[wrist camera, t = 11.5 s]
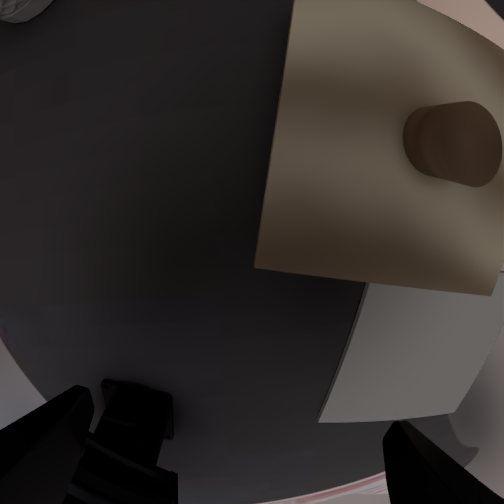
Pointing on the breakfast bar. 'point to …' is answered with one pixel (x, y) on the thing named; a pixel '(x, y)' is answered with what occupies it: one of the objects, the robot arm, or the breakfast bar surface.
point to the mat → (412, 353)
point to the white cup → (21, 9)
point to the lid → (387, 150)
